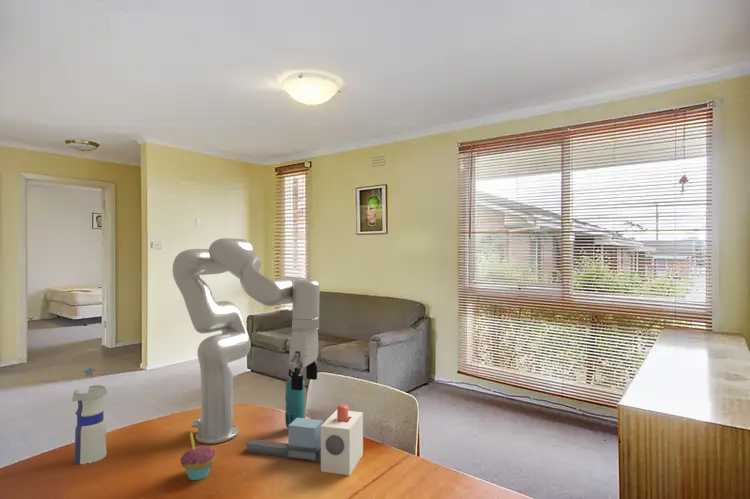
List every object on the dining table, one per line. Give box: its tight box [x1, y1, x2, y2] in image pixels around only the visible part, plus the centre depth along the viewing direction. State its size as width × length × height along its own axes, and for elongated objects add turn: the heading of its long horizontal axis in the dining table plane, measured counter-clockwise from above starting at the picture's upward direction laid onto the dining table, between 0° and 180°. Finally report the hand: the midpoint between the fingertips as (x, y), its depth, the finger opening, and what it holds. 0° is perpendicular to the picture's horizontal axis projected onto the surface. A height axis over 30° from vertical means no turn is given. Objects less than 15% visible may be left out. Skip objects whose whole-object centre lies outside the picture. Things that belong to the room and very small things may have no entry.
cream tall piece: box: [71, 366, 108, 465], centre depth 121 cm, size 8×8×25 cm
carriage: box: [287, 417, 324, 460], centre depth 121 cm, size 8×6×9 cm
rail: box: [245, 438, 321, 463], centre depth 122 cm, size 25×3×2 cm, turn 75°
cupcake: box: [180, 430, 217, 481], centre depth 111 cm, size 9×8×12 cm
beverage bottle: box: [284, 367, 306, 429], centre depth 139 cm, size 6×7×20 cm
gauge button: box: [336, 403, 349, 422], centre depth 118 cm, size 3×3×7 cm
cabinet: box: [320, 409, 364, 476], centre depth 118 cm, size 8×12×12 cm, turn 165°
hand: (304, 384), depth 121 cm, fingers open, 9 cm apart
